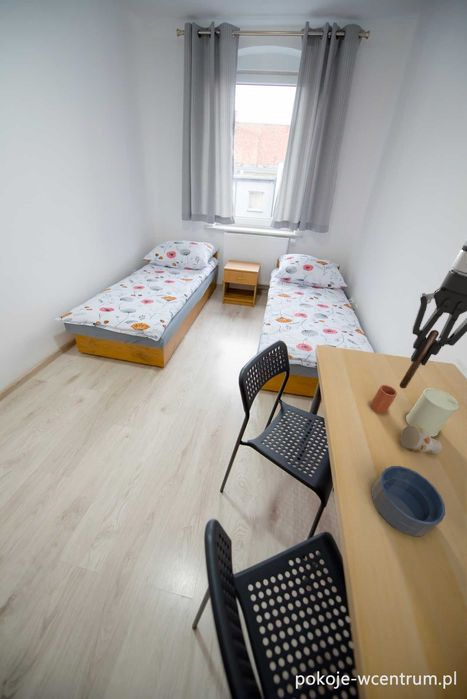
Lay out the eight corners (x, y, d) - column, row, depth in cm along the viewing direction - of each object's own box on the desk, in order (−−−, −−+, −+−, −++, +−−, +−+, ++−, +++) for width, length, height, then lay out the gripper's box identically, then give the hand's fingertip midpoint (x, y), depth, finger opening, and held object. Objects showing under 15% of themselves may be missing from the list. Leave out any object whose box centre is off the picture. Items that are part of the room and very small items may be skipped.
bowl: (430, 498, 67) (444, 485, 64) (431, 550, 58) (446, 538, 54) (375, 470, 72) (384, 456, 69) (366, 513, 63) (377, 500, 59)
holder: (387, 406, 93) (397, 389, 88) (385, 416, 89) (396, 398, 84) (371, 400, 95) (381, 382, 90) (369, 409, 91) (379, 391, 86)
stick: (405, 387, 78) (440, 330, 68) (405, 390, 77) (440, 333, 66) (398, 384, 79) (431, 327, 68) (398, 388, 77) (432, 330, 67)
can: (441, 440, 83) (464, 413, 76) (408, 430, 85) (428, 402, 78) (434, 418, 90) (454, 392, 83) (403, 410, 92) (421, 383, 85)
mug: (443, 463, 76) (446, 445, 70) (402, 460, 81) (401, 444, 75) (437, 438, 81) (439, 419, 75) (399, 436, 86) (398, 419, 80)
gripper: (432, 268, 59) (386, 357, 72) (517, 288, 54) (451, 379, 67) (431, 261, 65) (389, 344, 78) (508, 278, 59) (448, 364, 73)
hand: (417, 360), depth 73 cm, fingers closed on stick, 2 cm apart
